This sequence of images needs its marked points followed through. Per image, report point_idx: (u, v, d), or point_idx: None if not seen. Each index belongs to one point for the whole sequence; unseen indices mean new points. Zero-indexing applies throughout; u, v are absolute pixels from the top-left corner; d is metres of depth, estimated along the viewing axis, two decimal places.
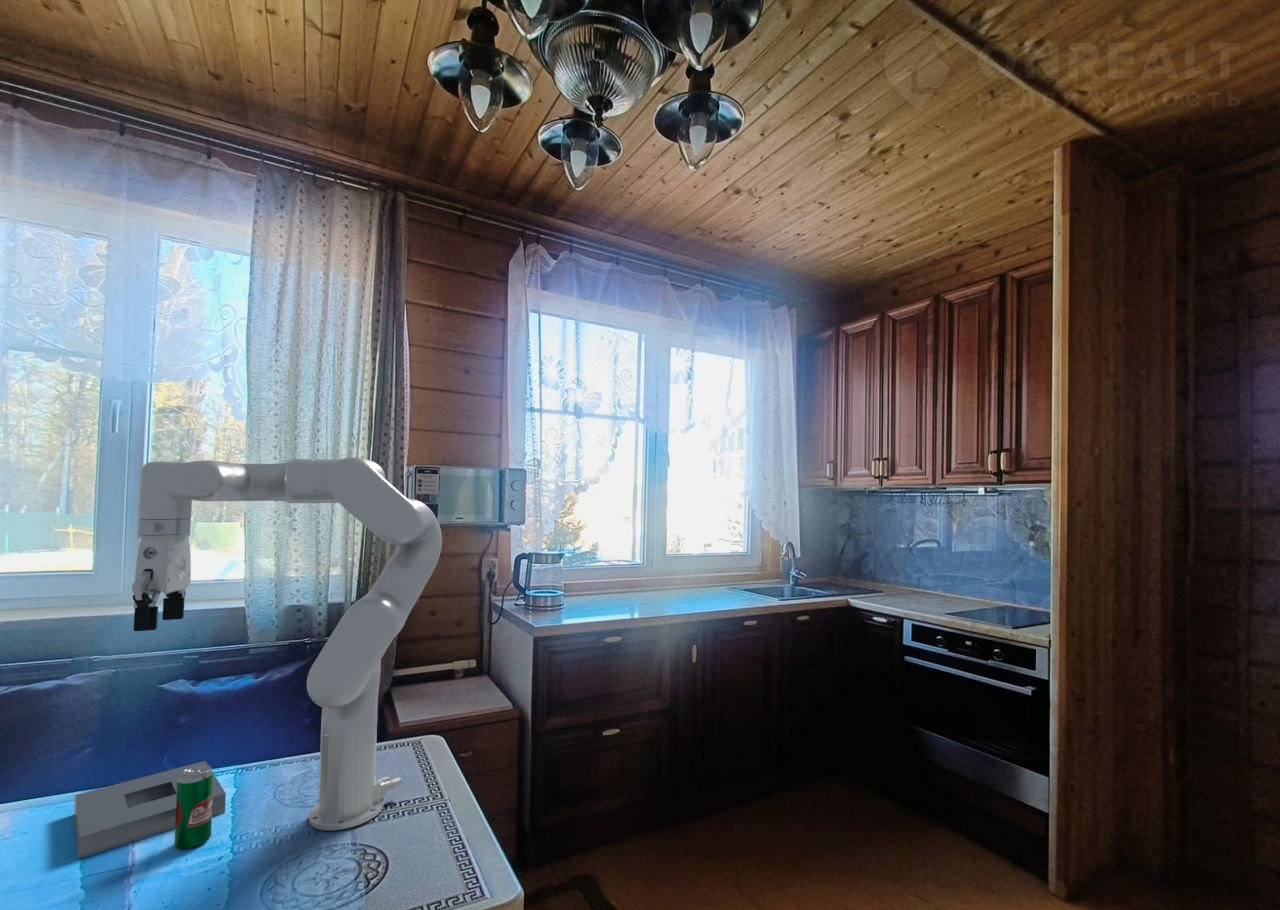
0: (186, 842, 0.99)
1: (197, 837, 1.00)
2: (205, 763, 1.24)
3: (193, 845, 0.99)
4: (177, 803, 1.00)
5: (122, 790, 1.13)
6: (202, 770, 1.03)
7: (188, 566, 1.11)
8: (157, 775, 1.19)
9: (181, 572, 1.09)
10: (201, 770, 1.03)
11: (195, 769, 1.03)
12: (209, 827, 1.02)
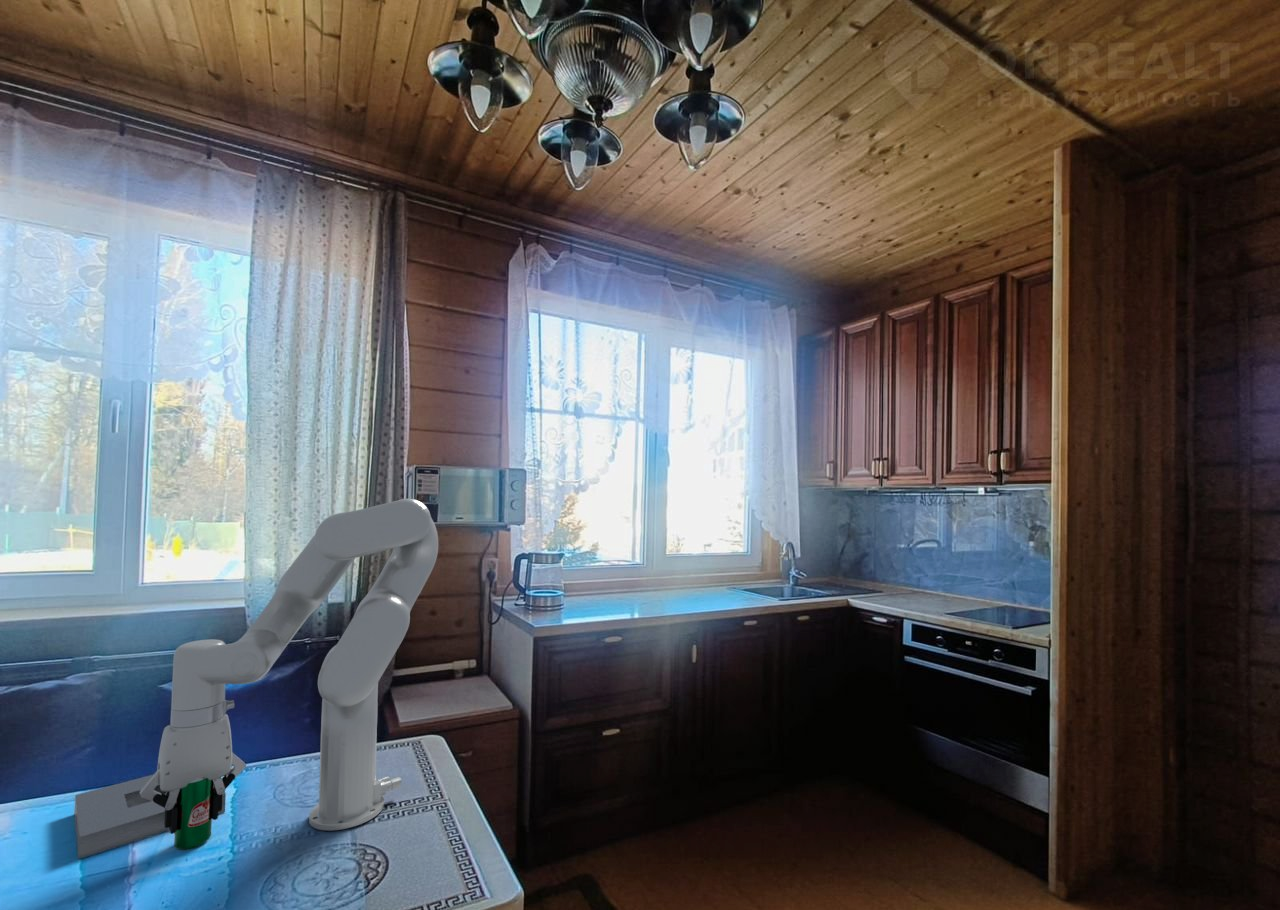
0: (186, 842, 0.99)
1: (197, 837, 1.00)
2: None
3: (193, 845, 0.99)
4: (177, 803, 1.00)
5: (122, 790, 1.13)
6: None
7: None
8: None
9: None
10: None
11: None
12: (209, 827, 1.02)
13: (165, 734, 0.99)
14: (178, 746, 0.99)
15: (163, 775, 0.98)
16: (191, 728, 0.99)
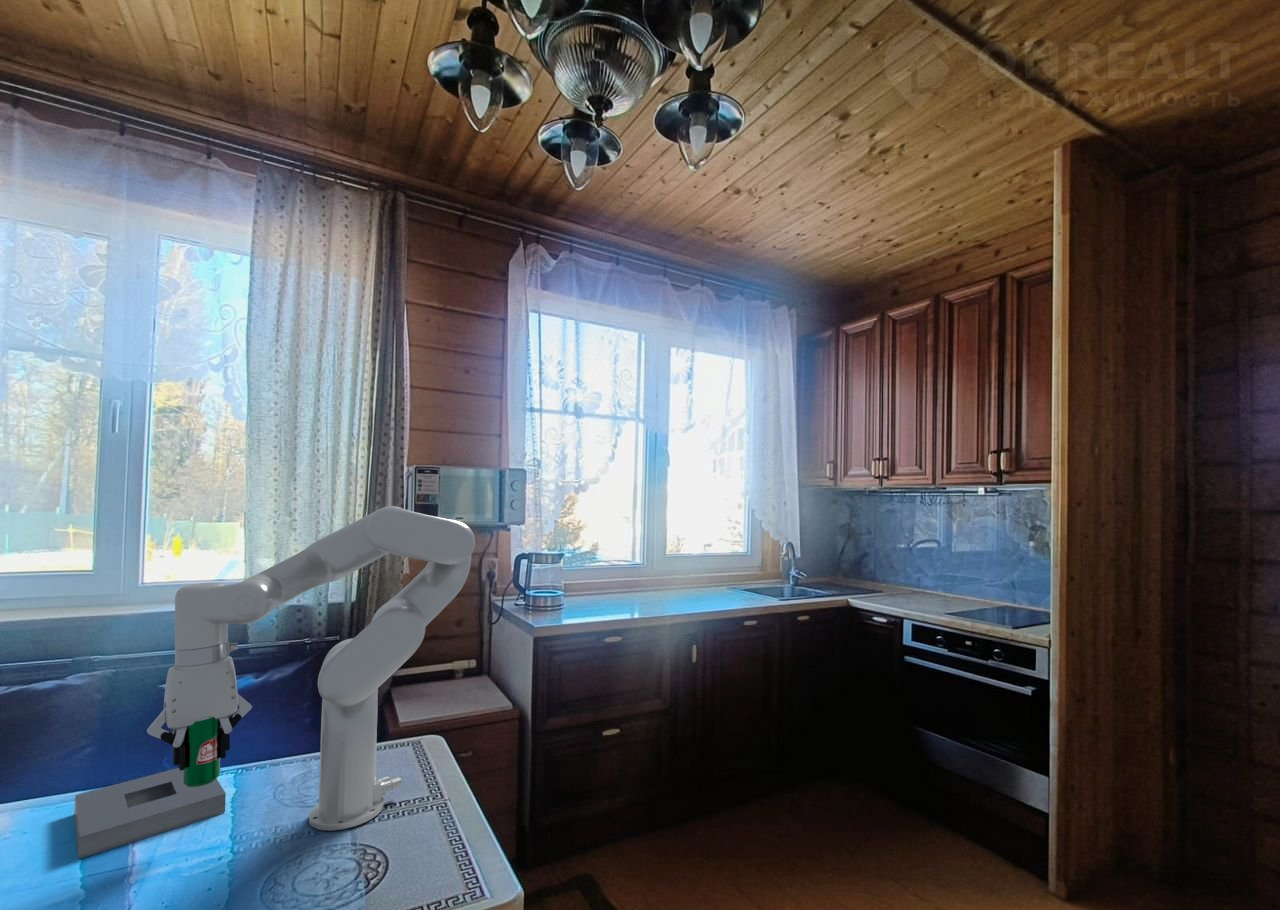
0: (195, 779, 1.00)
1: (206, 774, 1.01)
2: None
3: (202, 782, 1.00)
4: (185, 741, 1.01)
5: (122, 790, 1.13)
6: None
7: None
8: (157, 775, 1.19)
9: None
10: None
11: None
12: (218, 765, 1.03)
13: (170, 673, 1.00)
14: (183, 684, 1.00)
15: (170, 713, 0.98)
16: (195, 667, 1.00)
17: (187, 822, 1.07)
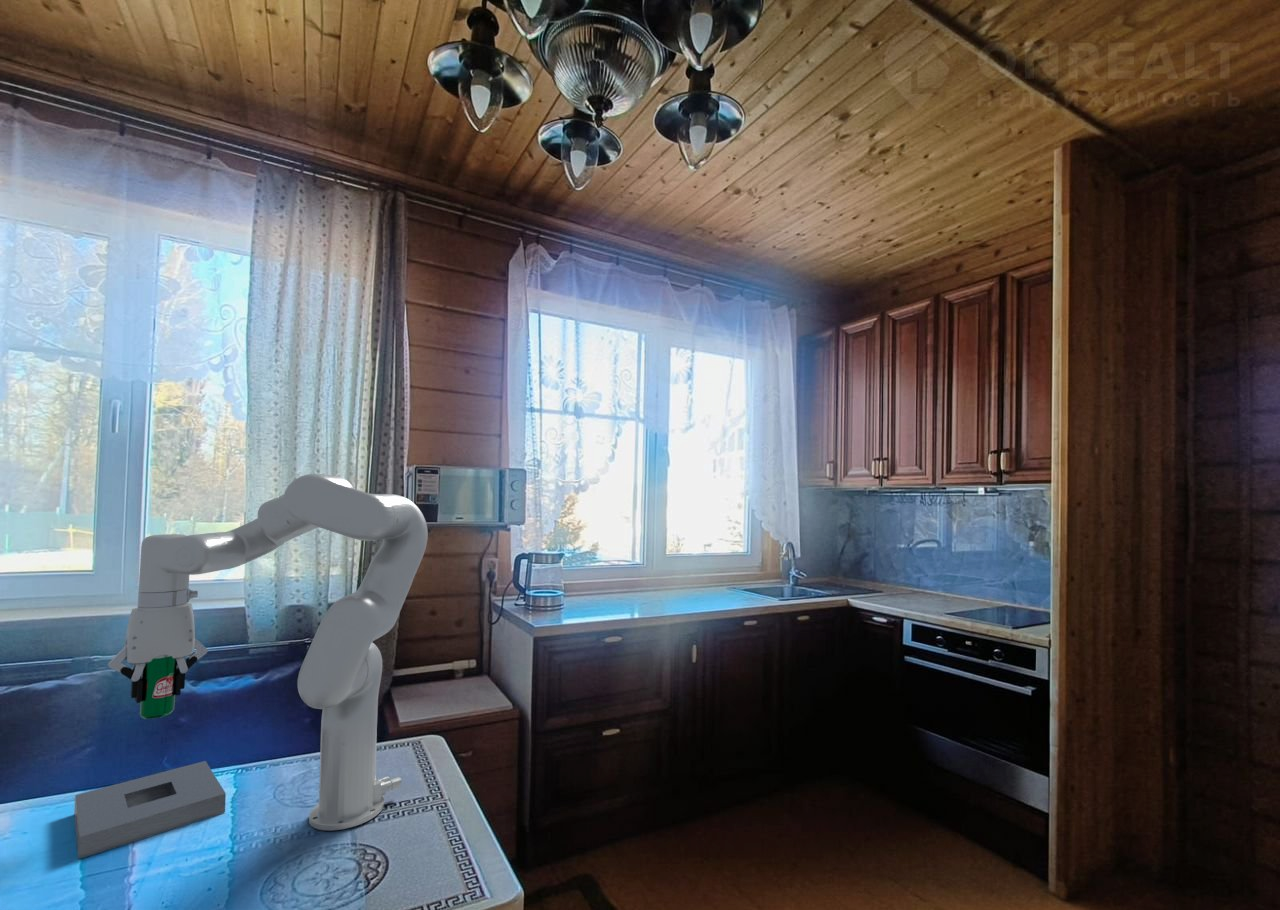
0: (151, 711, 1.09)
1: (161, 708, 1.10)
2: (205, 763, 1.24)
3: (157, 714, 1.09)
4: (143, 676, 1.10)
5: (122, 790, 1.13)
6: None
7: None
8: (157, 775, 1.19)
9: None
10: None
11: None
12: (172, 701, 1.12)
13: (132, 614, 1.09)
14: (144, 624, 1.09)
15: (130, 649, 1.08)
16: (156, 608, 1.09)
17: (187, 822, 1.07)
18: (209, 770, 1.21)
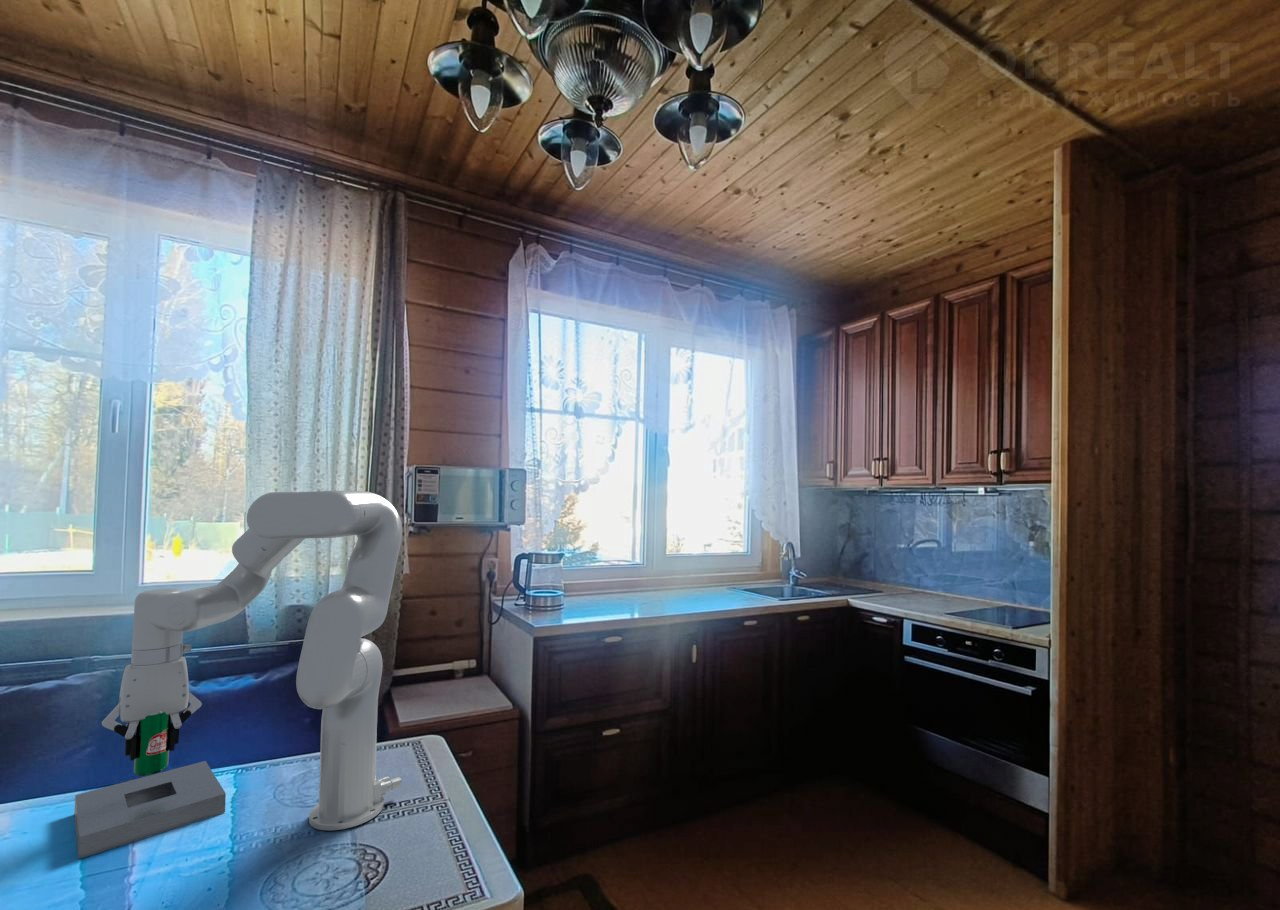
0: (144, 768, 1.09)
1: (155, 764, 1.10)
2: (205, 763, 1.24)
3: (151, 771, 1.10)
4: (136, 733, 1.10)
5: (122, 790, 1.13)
6: None
7: None
8: (157, 775, 1.19)
9: None
10: None
11: None
12: (166, 757, 1.12)
13: (126, 671, 1.09)
14: (137, 682, 1.09)
15: (123, 707, 1.08)
16: (149, 666, 1.10)
17: (187, 822, 1.07)
18: (209, 770, 1.21)
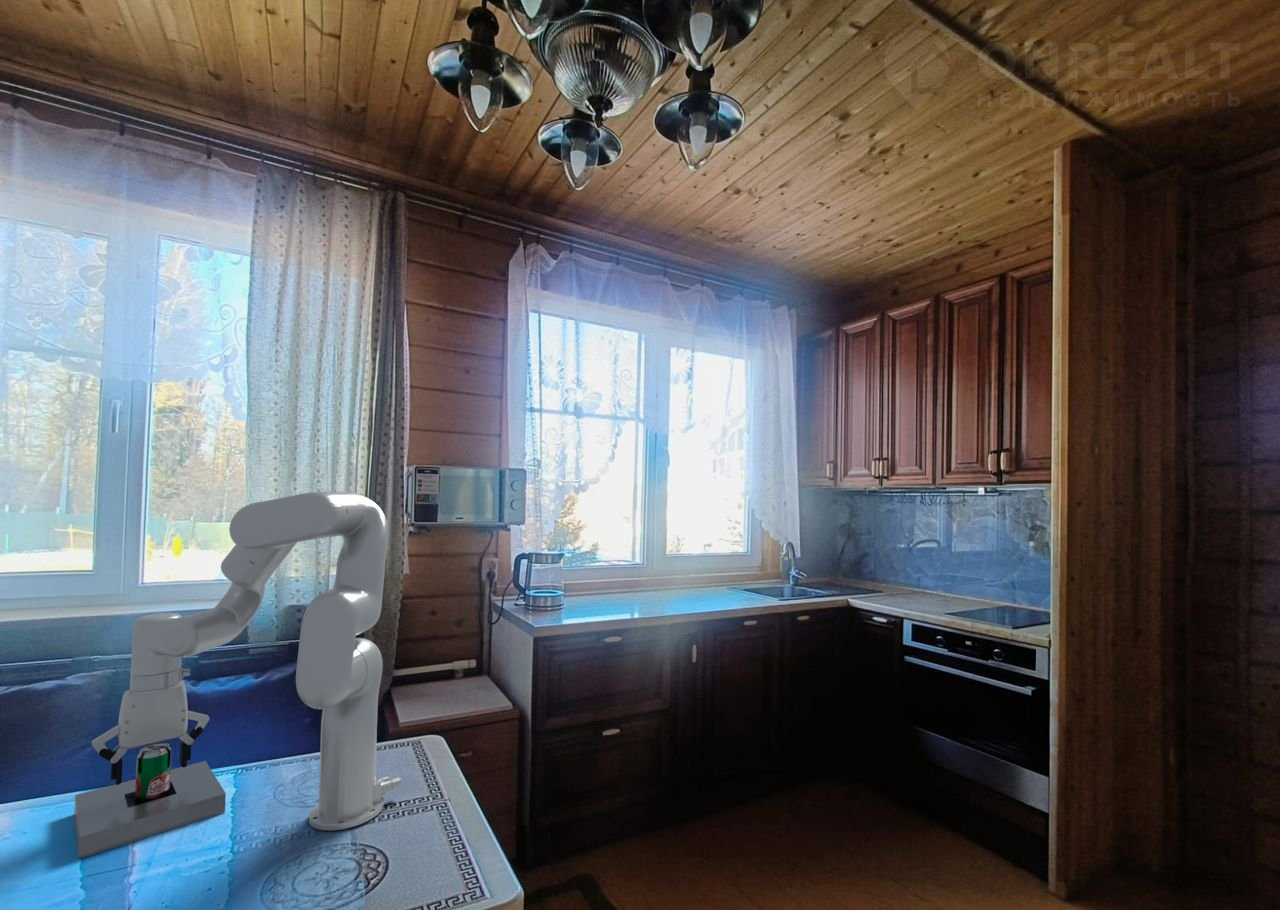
0: None
1: None
2: (205, 763, 1.24)
3: None
4: (136, 776, 1.10)
5: (122, 790, 1.13)
6: (160, 747, 1.12)
7: None
8: None
9: None
10: (160, 747, 1.12)
11: (154, 746, 1.13)
12: None
13: (124, 697, 1.09)
14: (136, 708, 1.09)
15: (122, 734, 1.08)
16: (148, 692, 1.09)
17: (187, 822, 1.07)
18: (209, 770, 1.21)
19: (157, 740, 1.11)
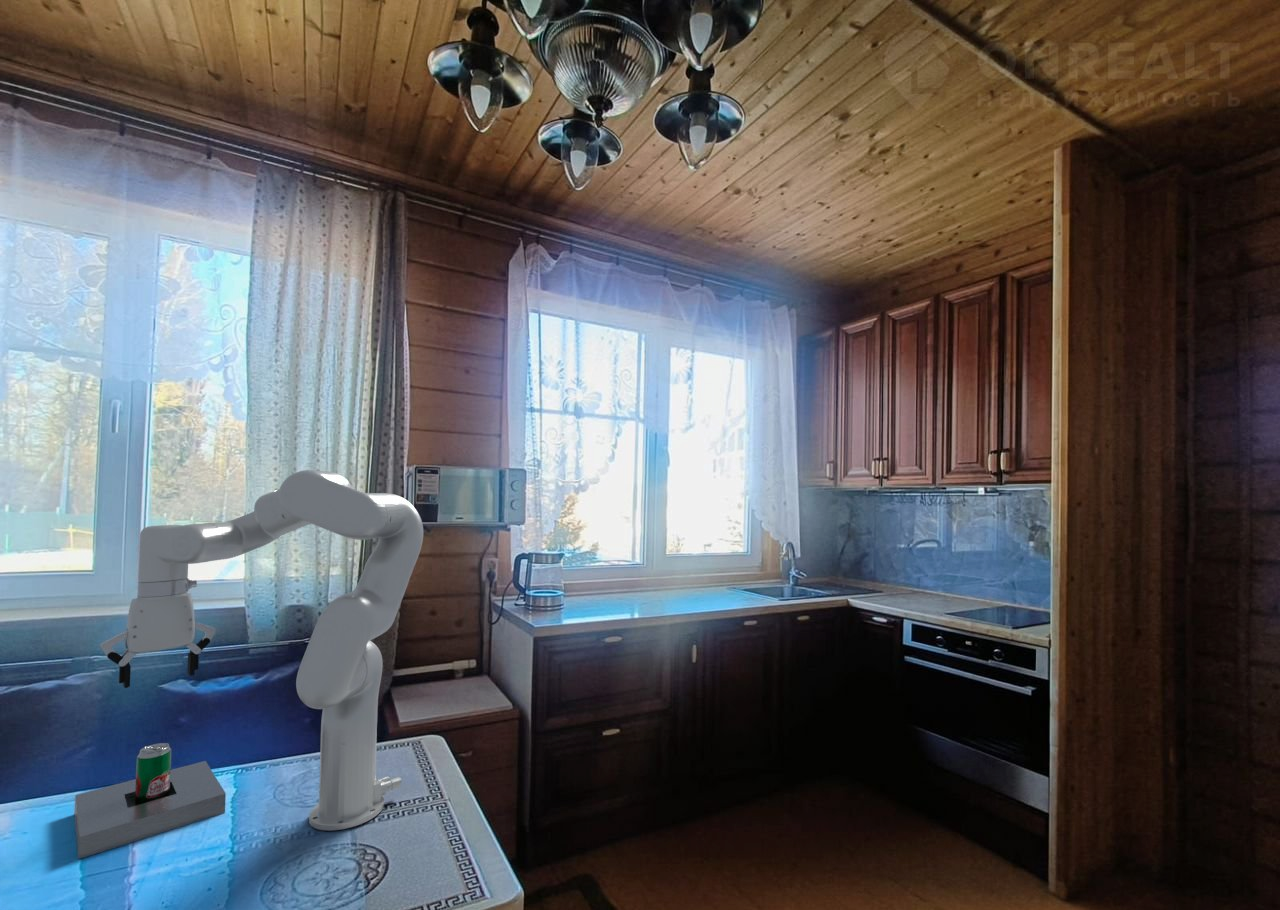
0: None
1: None
2: (205, 763, 1.24)
3: None
4: (136, 776, 1.10)
5: (122, 790, 1.13)
6: (160, 747, 1.12)
7: None
8: None
9: None
10: (159, 747, 1.12)
11: (154, 746, 1.13)
12: None
13: (132, 603, 1.10)
14: (144, 613, 1.10)
15: (130, 638, 1.09)
16: (156, 598, 1.11)
17: (187, 822, 1.07)
18: (209, 770, 1.21)
19: (165, 647, 1.12)
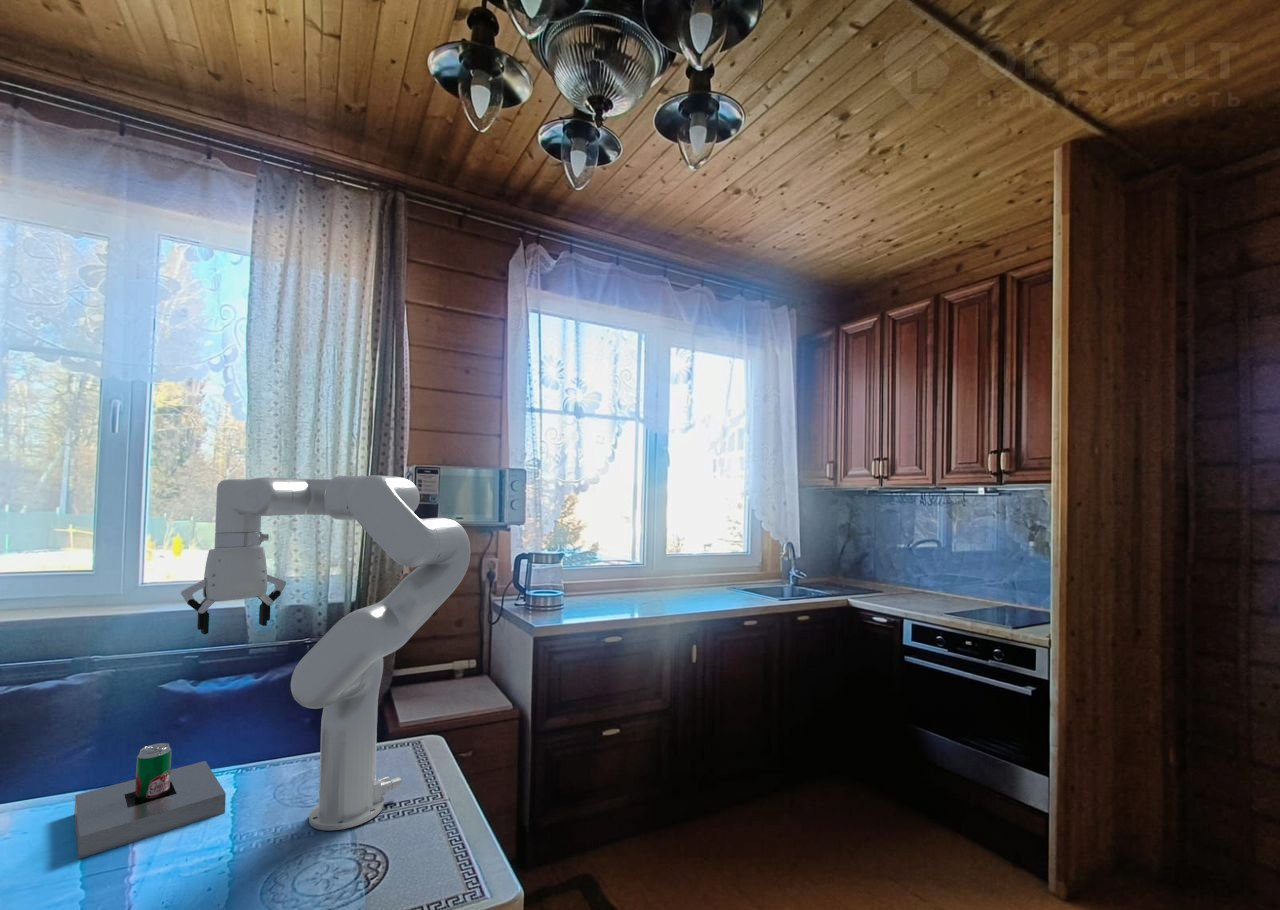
0: None
1: None
2: (205, 763, 1.24)
3: None
4: (136, 776, 1.10)
5: (122, 790, 1.13)
6: (160, 747, 1.12)
7: None
8: None
9: None
10: (160, 747, 1.12)
11: (154, 746, 1.13)
12: None
13: (210, 553, 1.14)
14: (222, 563, 1.14)
15: (209, 586, 1.12)
16: (233, 548, 1.14)
17: (187, 822, 1.07)
18: (209, 770, 1.21)
19: (240, 596, 1.16)
